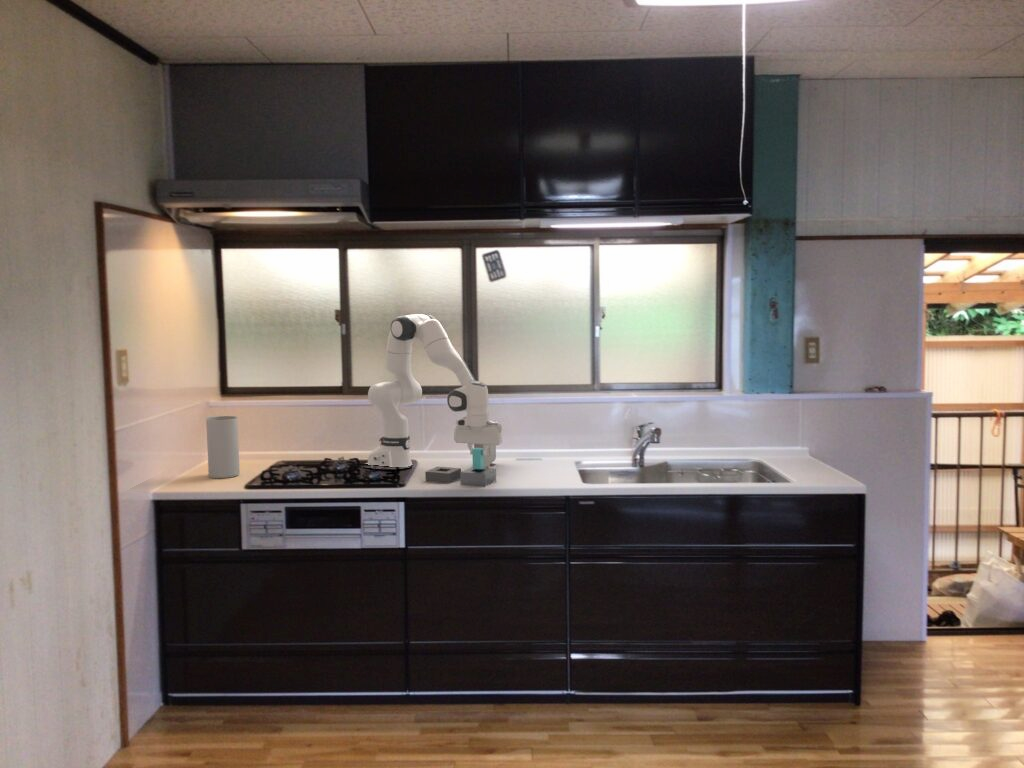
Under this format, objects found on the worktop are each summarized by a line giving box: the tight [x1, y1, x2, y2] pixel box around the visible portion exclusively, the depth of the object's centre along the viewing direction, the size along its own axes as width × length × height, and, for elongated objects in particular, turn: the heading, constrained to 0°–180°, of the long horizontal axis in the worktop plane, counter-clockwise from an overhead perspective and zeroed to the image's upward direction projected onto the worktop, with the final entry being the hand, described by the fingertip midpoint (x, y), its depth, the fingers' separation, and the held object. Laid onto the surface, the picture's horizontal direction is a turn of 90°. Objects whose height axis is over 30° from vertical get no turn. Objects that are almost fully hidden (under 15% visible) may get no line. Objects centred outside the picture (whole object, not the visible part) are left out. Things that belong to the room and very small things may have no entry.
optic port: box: [459, 466, 497, 487], centre depth 315 cm, size 11×11×5 cm
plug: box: [471, 448, 484, 469], centre depth 314 cm, size 4×4×8 cm
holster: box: [424, 466, 462, 484], centre depth 321 cm, size 11×11×4 cm
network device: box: [473, 420, 499, 469], centre depth 341 cm, size 26×9×20 cm, turn 168°
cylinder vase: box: [205, 415, 241, 479], centre depth 328 cm, size 12×12×25 cm
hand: (478, 454), depth 314 cm, fingers closed on plug, 3 cm apart
